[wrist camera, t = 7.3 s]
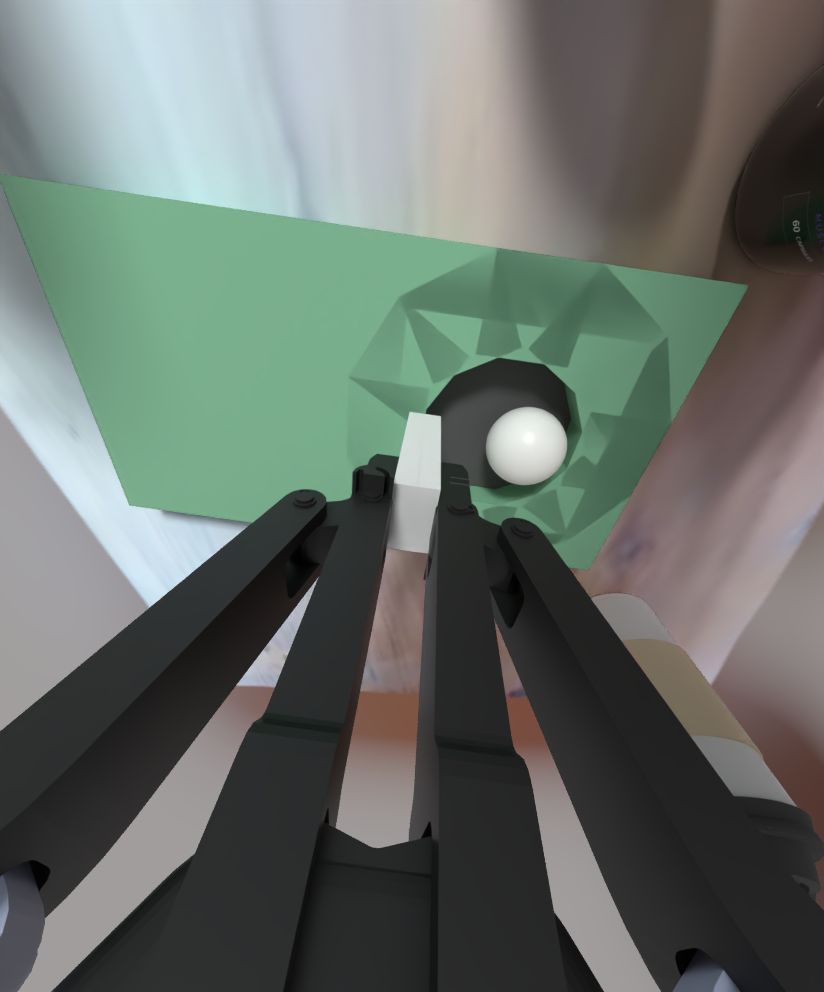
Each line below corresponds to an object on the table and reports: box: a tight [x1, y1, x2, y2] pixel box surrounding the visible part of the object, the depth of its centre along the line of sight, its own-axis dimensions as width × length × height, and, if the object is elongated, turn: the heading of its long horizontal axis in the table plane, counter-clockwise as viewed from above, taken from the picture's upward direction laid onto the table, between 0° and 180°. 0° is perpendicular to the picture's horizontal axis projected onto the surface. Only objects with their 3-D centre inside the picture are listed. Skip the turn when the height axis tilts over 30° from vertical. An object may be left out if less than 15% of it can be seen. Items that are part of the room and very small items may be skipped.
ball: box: [486, 407, 567, 485], centre depth 18 cm, size 4×4×4 cm
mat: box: [0, 174, 749, 570], centre depth 19 cm, size 16×30×2 cm, turn 83°
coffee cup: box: [591, 593, 824, 901], centre depth 22 cm, size 9×9×15 cm
